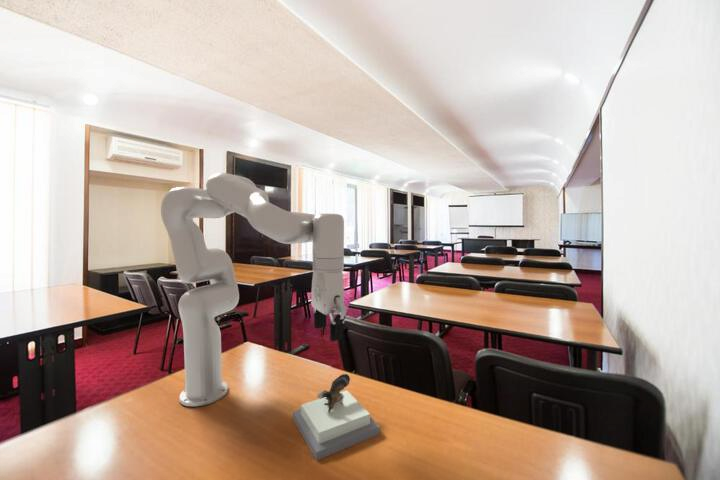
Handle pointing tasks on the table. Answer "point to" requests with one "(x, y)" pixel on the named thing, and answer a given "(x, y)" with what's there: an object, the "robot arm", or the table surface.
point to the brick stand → (334, 425)
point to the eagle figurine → (335, 391)
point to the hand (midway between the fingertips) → (327, 333)
